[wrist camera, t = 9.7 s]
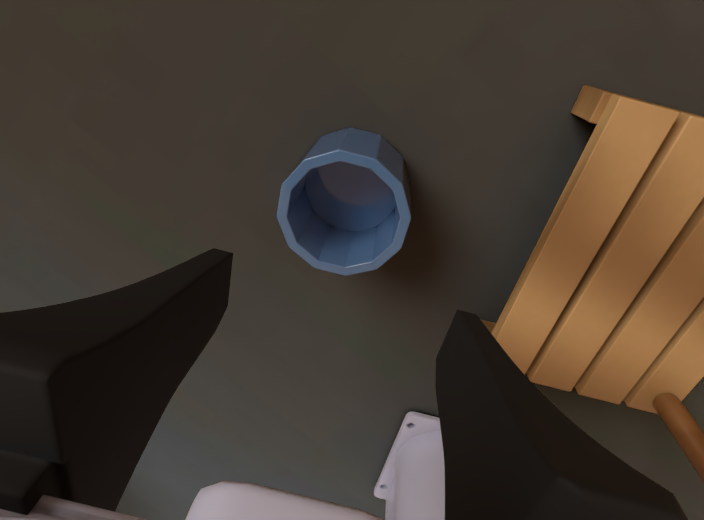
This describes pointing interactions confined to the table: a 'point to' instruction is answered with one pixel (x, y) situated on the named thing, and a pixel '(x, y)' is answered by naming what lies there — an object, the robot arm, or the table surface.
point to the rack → (621, 268)
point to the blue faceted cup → (346, 203)
